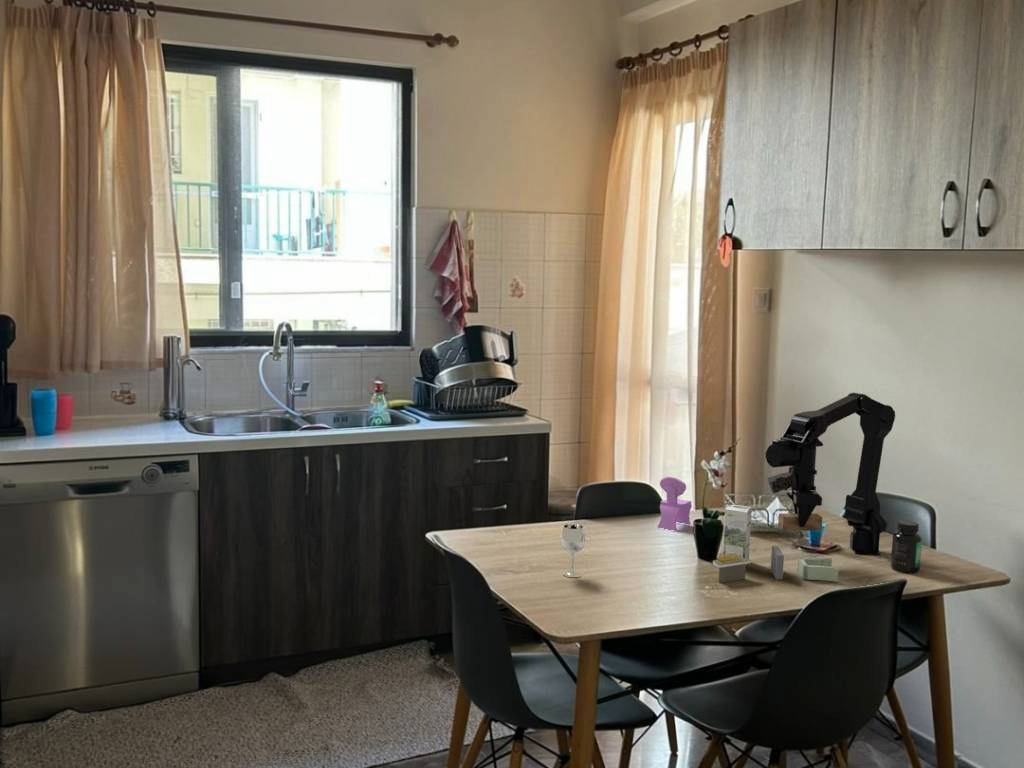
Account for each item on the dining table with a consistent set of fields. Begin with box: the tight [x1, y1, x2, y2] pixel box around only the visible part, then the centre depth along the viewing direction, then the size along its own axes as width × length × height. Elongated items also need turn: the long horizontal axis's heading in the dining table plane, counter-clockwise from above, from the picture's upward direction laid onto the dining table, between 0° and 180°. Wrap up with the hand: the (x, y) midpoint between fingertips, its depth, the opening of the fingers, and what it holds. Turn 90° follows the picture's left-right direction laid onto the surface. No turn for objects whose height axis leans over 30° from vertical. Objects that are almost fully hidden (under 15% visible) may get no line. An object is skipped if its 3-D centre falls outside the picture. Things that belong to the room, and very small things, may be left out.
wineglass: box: [560, 523, 586, 576], centre depth 243 cm, size 6×6×12 cm
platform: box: [712, 553, 752, 584], centre depth 242 cm, size 12×18×7 cm, turn 117°
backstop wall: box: [770, 545, 785, 581], centre depth 247 cm, size 2×8×6 cm, turn 175°
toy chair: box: [656, 476, 692, 532], centre depth 289 cm, size 8×9×15 cm
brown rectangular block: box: [777, 512, 823, 532], centre depth 256 cm, size 10×4×4 cm, turn 94°
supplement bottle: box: [890, 520, 923, 574], centre depth 253 cm, size 7×7×12 cm
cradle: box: [797, 557, 839, 583], centre depth 246 cm, size 8×9×3 cm
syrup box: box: [722, 504, 753, 566], centre depth 255 cm, size 6×6×14 cm
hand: (800, 524), depth 256 cm, fingers closed on brown rectangular block, 4 cm apart
